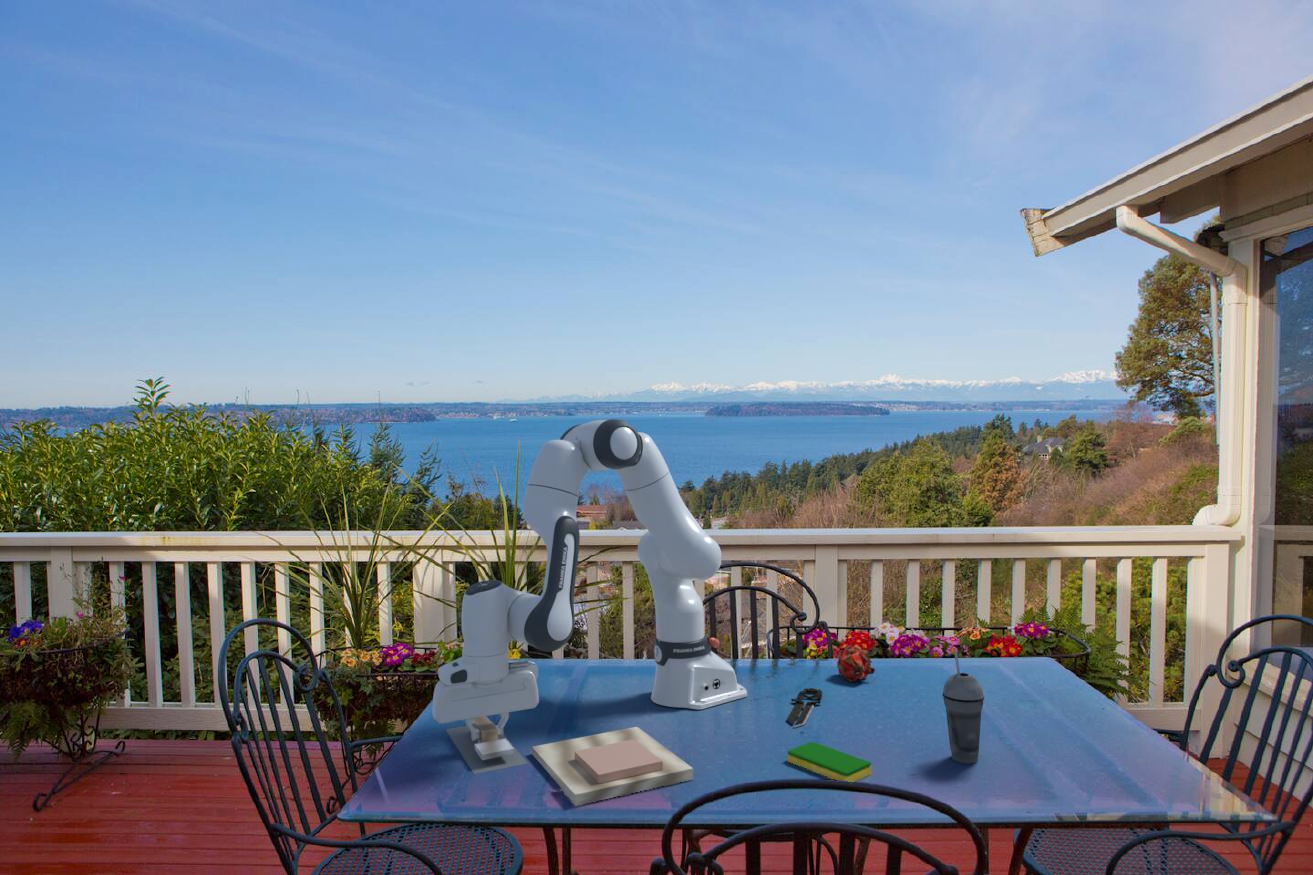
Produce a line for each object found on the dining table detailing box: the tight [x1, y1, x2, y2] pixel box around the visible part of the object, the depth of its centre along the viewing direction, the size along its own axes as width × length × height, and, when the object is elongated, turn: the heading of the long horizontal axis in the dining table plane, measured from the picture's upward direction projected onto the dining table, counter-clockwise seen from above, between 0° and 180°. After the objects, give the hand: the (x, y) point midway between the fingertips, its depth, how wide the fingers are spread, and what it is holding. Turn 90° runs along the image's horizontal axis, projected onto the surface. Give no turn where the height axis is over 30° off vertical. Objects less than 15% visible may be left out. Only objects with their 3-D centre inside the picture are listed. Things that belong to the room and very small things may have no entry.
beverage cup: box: [942, 648, 985, 764], centre depth 150 cm, size 7×7×20 cm
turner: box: [465, 716, 514, 760], centre depth 159 cm, size 6×20×3 cm, turn 26°
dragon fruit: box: [836, 645, 876, 683], centre depth 200 cm, size 8×8×12 cm
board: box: [531, 726, 694, 805], centre depth 149 cm, size 22×24×2 cm
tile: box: [574, 739, 663, 784], centre depth 146 cm, size 12×2×12 cm
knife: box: [786, 687, 823, 729], centre depth 179 cm, size 25×6×1 cm, turn 155°
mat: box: [445, 720, 529, 775], centre depth 160 cm, size 10×26×1 cm, turn 26°
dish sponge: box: [787, 741, 872, 783], centre depth 147 cm, size 7×14×2 cm, turn 38°
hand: (487, 737), depth 158 cm, fingers closed on turner, 3 cm apart
